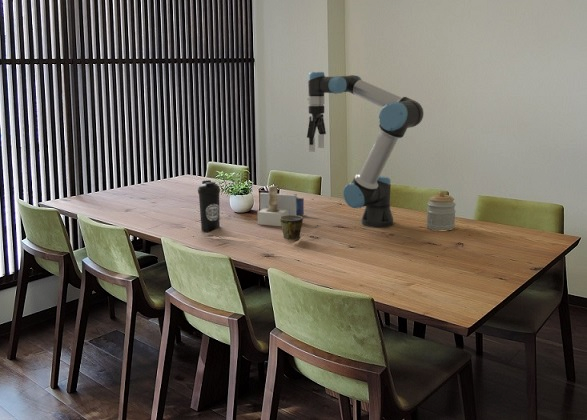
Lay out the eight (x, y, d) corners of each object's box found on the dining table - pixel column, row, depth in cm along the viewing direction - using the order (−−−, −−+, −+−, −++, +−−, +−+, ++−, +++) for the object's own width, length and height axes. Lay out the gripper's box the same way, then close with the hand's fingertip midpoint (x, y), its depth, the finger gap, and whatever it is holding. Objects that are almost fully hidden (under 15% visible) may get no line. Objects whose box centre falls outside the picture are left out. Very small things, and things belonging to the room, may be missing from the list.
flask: (304, 215, 357) (304, 194, 354) (301, 216, 354) (301, 195, 352) (288, 213, 361) (288, 192, 359) (285, 214, 359) (285, 193, 356)
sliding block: (288, 221, 338) (288, 209, 337) (281, 226, 329) (281, 213, 328) (265, 219, 343) (265, 207, 341) (257, 224, 333) (257, 211, 332)
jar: (421, 229, 326) (422, 191, 322) (434, 223, 336) (435, 187, 332) (447, 233, 318) (448, 195, 314) (459, 227, 328) (461, 190, 324)
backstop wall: (296, 223, 340) (296, 194, 337) (278, 235, 319) (278, 204, 316) (262, 220, 346) (261, 192, 343) (242, 231, 325) (241, 202, 322)
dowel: (278, 219, 337) (278, 186, 333) (275, 221, 333) (275, 187, 329) (271, 218, 338) (270, 185, 334) (267, 220, 334) (267, 187, 331)
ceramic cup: (281, 236, 316) (281, 215, 314) (303, 236, 315) (303, 215, 313) (278, 244, 304) (278, 222, 301) (301, 244, 303) (301, 222, 300)
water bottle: (204, 233, 323) (202, 184, 318) (196, 228, 332) (194, 180, 327) (224, 230, 328) (223, 182, 322) (216, 226, 336) (214, 178, 331)
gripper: (317, 102, 346) (317, 145, 351) (299, 107, 324) (300, 152, 328) (332, 103, 344) (331, 146, 349) (315, 107, 321) (315, 153, 326)
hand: (316, 149), depth 339 cm, fingers open, 13 cm apart
